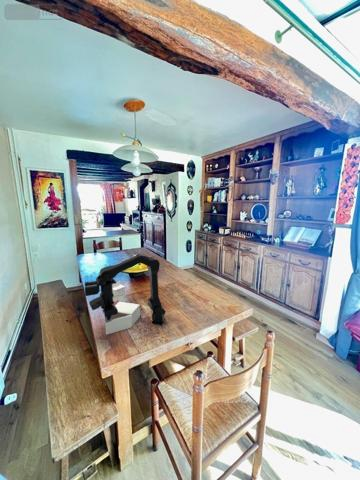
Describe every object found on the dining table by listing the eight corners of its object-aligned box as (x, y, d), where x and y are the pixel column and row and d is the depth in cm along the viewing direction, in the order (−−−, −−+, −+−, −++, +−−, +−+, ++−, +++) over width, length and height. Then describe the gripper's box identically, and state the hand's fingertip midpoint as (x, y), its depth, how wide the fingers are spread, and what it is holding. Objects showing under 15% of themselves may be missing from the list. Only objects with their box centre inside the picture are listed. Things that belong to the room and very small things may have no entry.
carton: (139, 316, 126) (139, 304, 125) (131, 326, 116) (131, 313, 114) (119, 313, 129) (119, 301, 128) (110, 322, 119) (109, 310, 117)
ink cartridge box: (115, 306, 138) (114, 286, 135) (111, 303, 141) (110, 284, 138) (125, 301, 144) (125, 282, 142) (121, 299, 147) (120, 280, 145)
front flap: (131, 326, 115) (130, 308, 113) (132, 327, 114) (131, 309, 112) (105, 334, 108) (104, 314, 106) (106, 335, 107) (105, 315, 105)
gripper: (87, 288, 108) (89, 314, 111) (92, 303, 92) (94, 334, 95) (109, 284, 113) (110, 309, 116) (117, 298, 97) (118, 327, 101)
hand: (108, 319), depth 107 cm, fingers closed
